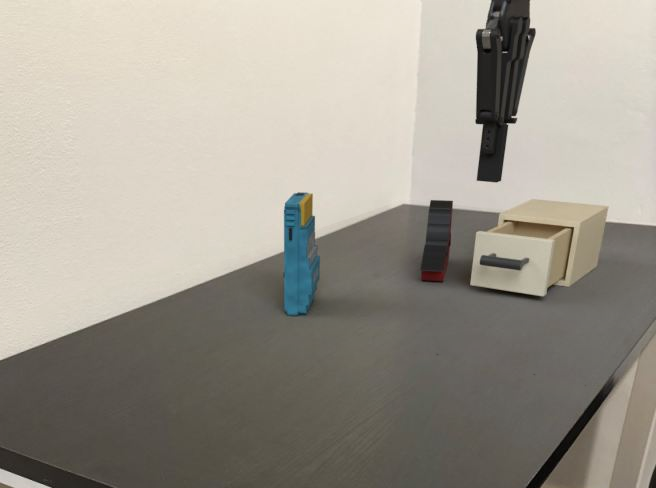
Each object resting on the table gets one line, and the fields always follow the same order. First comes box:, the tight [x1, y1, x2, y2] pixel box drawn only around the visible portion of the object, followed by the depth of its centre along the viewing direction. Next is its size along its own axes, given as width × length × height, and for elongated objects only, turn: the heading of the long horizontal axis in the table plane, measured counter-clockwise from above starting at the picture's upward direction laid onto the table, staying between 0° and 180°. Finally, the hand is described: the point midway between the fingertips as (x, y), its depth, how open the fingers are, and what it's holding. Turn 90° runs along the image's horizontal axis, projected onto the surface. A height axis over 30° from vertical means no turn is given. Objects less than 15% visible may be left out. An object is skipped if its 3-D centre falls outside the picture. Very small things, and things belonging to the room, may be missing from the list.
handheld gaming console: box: [283, 191, 321, 317], centre depth 112 cm, size 10×4×15 cm, turn 169°
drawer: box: [469, 220, 574, 297], centre depth 119 cm, size 18×11×8 cm, turn 144°
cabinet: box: [497, 198, 609, 288], centre depth 128 cm, size 15×13×10 cm
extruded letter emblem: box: [420, 199, 454, 282], centre depth 128 cm, size 18×4×11 cm, turn 165°
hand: (488, 180), depth 101 cm, fingers closed
